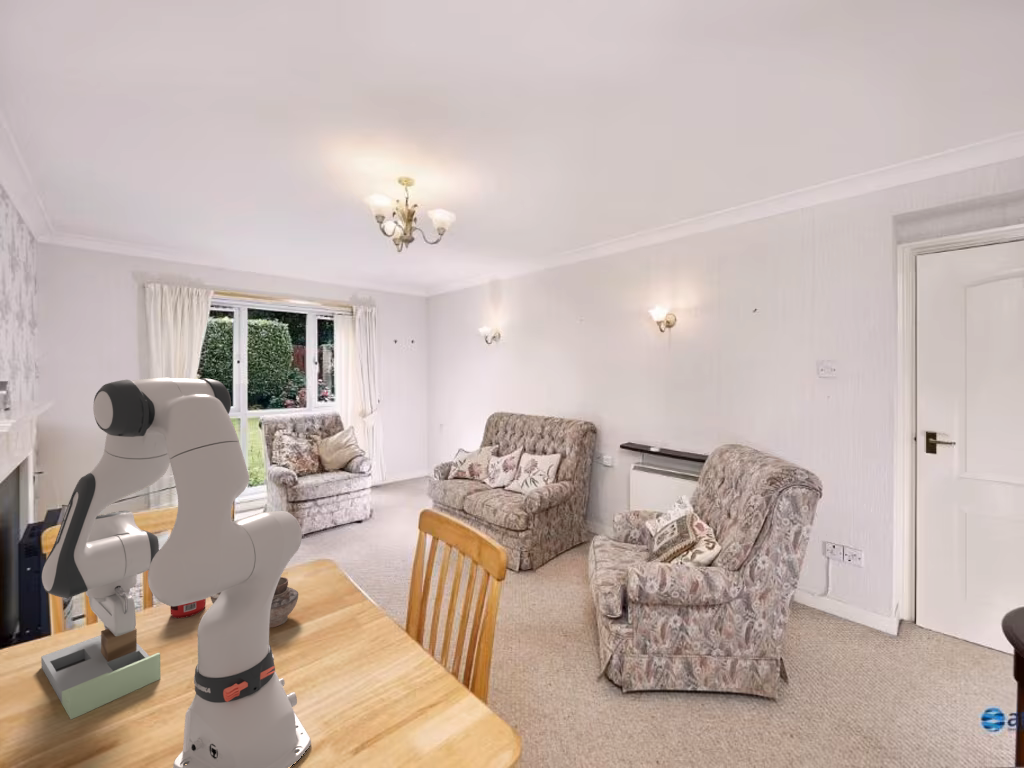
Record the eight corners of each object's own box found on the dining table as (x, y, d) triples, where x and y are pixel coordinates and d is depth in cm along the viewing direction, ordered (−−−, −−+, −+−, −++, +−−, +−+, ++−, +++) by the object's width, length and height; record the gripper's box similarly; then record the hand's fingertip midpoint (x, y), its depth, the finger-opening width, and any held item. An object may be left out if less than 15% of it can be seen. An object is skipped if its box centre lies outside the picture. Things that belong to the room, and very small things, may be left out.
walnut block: (136, 650, 102) (136, 629, 102) (107, 661, 98) (107, 639, 98) (129, 641, 105) (129, 621, 105) (101, 652, 101) (101, 631, 101)
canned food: (212, 604, 127) (212, 566, 127) (189, 619, 119) (189, 579, 119) (187, 603, 128) (187, 565, 128) (163, 618, 120) (162, 577, 120)
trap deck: (160, 678, 96) (160, 653, 96) (70, 719, 85) (70, 691, 85) (122, 637, 111) (121, 615, 111) (41, 667, 100) (41, 643, 100)
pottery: (234, 601, 129) (234, 560, 129) (307, 613, 123) (307, 571, 123) (198, 622, 118) (197, 577, 118) (276, 637, 112) (276, 590, 112)
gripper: (144, 588, 101) (144, 649, 101) (116, 565, 112) (116, 619, 113) (107, 600, 95) (108, 663, 96) (81, 574, 107) (82, 631, 107)
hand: (112, 639), depth 104 cm, fingers closed
